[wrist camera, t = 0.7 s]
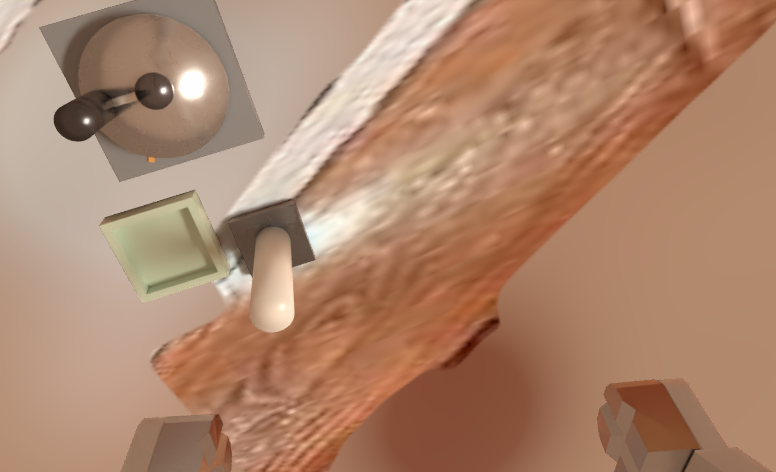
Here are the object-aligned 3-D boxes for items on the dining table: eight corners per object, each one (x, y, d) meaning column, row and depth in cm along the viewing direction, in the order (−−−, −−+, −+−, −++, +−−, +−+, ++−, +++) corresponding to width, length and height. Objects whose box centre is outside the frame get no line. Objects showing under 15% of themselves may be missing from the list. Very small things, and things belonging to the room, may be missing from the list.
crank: (51, 38, 44) (11, 47, 38) (197, -4, 45) (183, -3, 38) (119, 171, 50) (95, 199, 43) (249, 131, 50) (245, 154, 44)
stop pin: (250, 232, 56) (242, 303, 43) (283, 222, 56) (285, 289, 44) (262, 261, 58) (258, 337, 45) (295, 251, 58) (300, 324, 45)
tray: (105, 217, 54) (98, 226, 52) (195, 189, 54) (192, 197, 52) (146, 292, 58) (142, 303, 56) (230, 266, 58) (228, 275, 56)
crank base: (48, 26, 46) (38, 27, 44) (207, -20, 47) (204, -20, 45) (124, 175, 52) (119, 182, 50) (264, 133, 53) (263, 138, 51)
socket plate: (229, 219, 56) (228, 223, 55) (294, 199, 56) (294, 202, 55) (253, 275, 59) (253, 279, 58) (314, 255, 59) (315, 259, 59)
